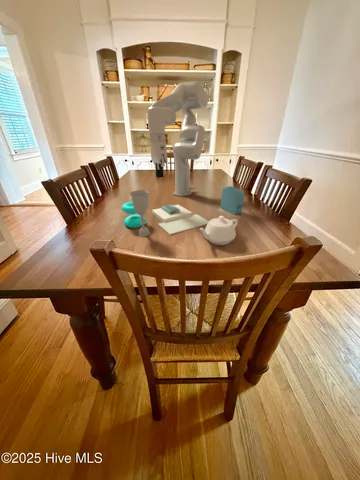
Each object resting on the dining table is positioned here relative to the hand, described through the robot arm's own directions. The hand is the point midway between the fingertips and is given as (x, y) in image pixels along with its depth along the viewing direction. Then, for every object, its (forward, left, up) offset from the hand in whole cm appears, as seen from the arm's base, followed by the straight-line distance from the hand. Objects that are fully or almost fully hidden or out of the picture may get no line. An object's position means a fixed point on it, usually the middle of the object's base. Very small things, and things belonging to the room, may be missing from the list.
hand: (159, 177), depth 105 cm
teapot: (-4, +45, -17) cm, 48 cm away
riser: (0, +12, -17) cm, 21 cm away
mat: (0, +25, -17) cm, 30 cm away
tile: (0, +11, -15) cm, 19 cm away
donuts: (+20, +13, -17) cm, 30 cm away
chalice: (+20, +24, -17) cm, 36 cm away
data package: (-30, +24, -17) cm, 42 cm away
